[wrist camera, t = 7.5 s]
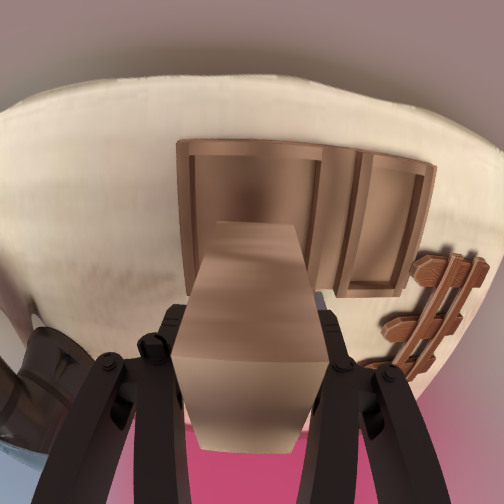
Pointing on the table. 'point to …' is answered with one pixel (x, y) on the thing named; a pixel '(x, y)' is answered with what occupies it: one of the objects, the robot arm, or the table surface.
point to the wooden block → (250, 341)
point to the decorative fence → (433, 309)
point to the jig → (310, 207)
